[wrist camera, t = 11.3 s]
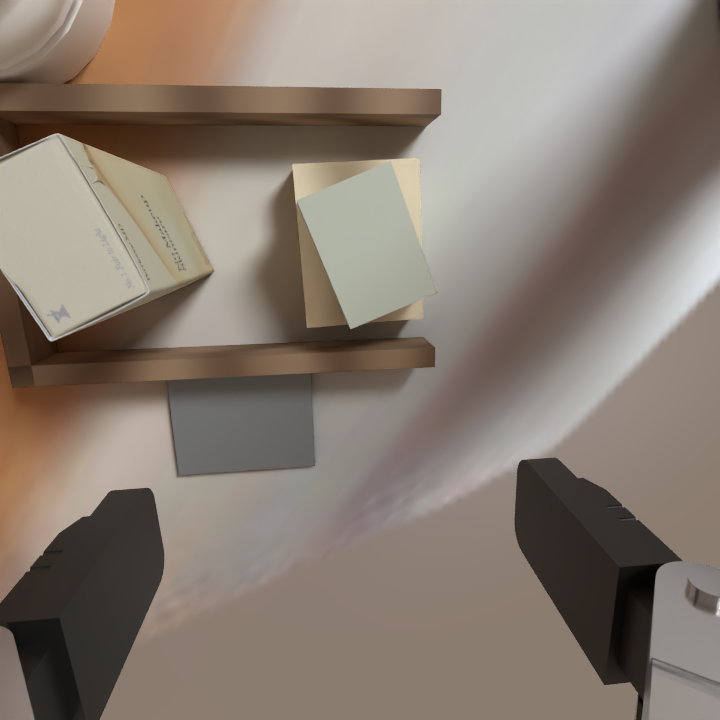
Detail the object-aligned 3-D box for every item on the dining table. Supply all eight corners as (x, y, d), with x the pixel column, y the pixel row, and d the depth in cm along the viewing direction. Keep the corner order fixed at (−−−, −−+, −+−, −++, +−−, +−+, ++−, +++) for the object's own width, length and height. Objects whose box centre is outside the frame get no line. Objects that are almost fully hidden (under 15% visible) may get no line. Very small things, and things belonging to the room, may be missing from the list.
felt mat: (310, 365, 32) (310, 367, 31) (314, 463, 33) (314, 465, 33) (167, 372, 31) (165, 374, 30) (180, 472, 32) (178, 475, 32)
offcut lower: (408, 164, 30) (419, 157, 27) (412, 310, 32) (423, 318, 29) (293, 170, 29) (292, 163, 26) (306, 319, 31) (306, 328, 28)
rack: (427, 103, 28) (441, 89, 25) (422, 354, 32) (434, 366, 29) (-14, 98, 26) (-54, 82, 23) (40, 372, 30) (12, 387, 27)
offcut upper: (380, 168, 27) (390, 160, 24) (423, 286, 29) (437, 292, 26) (296, 203, 26) (296, 200, 24) (345, 319, 28) (350, 329, 26)
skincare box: (216, 271, 29) (160, 298, 18) (150, 302, 29) (50, 349, 18) (163, 169, 28) (61, 126, 16) (92, 202, 28) (-61, 182, 16)
